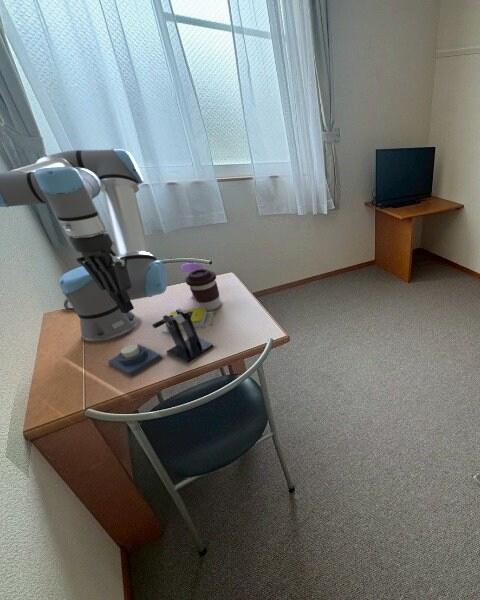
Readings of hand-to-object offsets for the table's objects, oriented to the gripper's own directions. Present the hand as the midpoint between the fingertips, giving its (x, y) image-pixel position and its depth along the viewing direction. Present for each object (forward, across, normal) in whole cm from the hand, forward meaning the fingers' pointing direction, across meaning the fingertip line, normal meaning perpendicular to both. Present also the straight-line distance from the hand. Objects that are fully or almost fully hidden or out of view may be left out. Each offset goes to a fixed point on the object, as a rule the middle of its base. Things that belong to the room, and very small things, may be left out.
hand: (128, 310), depth 93 cm
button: (+14, -2, -4) cm, 14 cm away
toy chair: (+18, -9, +38) cm, 43 cm away
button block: (+17, -2, -4) cm, 18 cm away
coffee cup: (+18, 0, +29) cm, 34 cm away
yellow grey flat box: (+18, 0, +18) cm, 25 cm away
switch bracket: (+17, +11, +4) cm, 21 cm away
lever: (+7, +8, +5) cm, 12 cm away
